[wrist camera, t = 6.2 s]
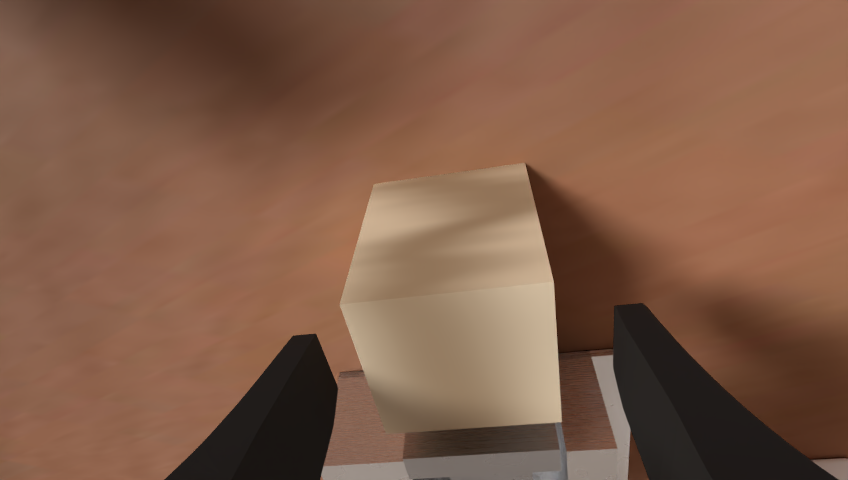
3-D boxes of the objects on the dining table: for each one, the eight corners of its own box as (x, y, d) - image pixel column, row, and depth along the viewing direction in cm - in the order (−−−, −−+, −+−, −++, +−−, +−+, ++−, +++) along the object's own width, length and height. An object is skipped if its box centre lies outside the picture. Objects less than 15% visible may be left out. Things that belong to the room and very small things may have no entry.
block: (524, 162, 15) (553, 281, 10) (535, 282, 17) (562, 422, 13) (373, 183, 16) (339, 304, 11) (404, 296, 18) (386, 434, 14)
